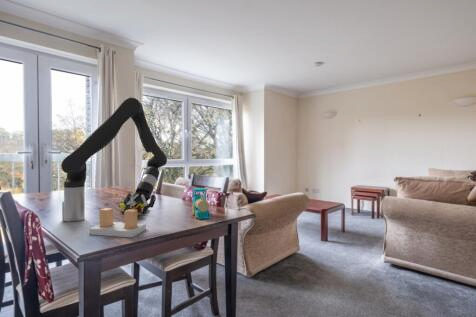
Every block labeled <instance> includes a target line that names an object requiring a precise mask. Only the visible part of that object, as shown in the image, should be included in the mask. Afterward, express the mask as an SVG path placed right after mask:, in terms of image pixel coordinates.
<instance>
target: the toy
mask: <svg viewBox="0 0 476 317" xmlns="http://www.w3.org/2000/svg"><path fill="white" fill-rule="evenodd" d="M118 199H119V200H123V201H124V200H125V198H124V197H123V198H121V197H119V198H118ZM133 202H135V201H134V200H133ZM130 204H131V203H130ZM144 206H145V204H144V203H143V204H137V203H136V204H135V205H132V206H131V207H130V209H133V210H137V216H138V215H139V216H140V215H142V214H141V212H142V210H143V207H144ZM118 207H119V208H121V209H122V210H124V209H125V207H126V206H125V205H124V203H123V202H122V201H121V202H119V203H118Z"/></svg>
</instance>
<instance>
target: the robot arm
mask: <svg viewBox="0 0 476 317" xmlns="http://www.w3.org/2000/svg"><path fill="white" fill-rule="evenodd" d="M130 119H131V120H132V121H133V123H134V125H135V126H136V129H137V133H138V136H139V137H138V138H139V140H140V142H141V144H142V147H143V149H144V151H145V152H146V153H148V154H149V153H151V154H152V155H153V156H151V157H149V159H147V163H146V168H145V172H144V174H143V176H142V177H141V178H140V180H139V182H138V185H137V187H136V190H135V193H133V194H131V193H130V192H129V193H128V194H127V195H126V196H125V198H124V199H125V200H123V202H122V203H124V205H125V206H126V207H125V209H123V212H124V211H126V210H129V209H130V207H131V206H132V205H135V204H136V203H137V204H143V203H144V204H145V206H144V207H143V208H142V209H141V212H140V213H141V214H140V215H142V216H145V215H146V214H147V212H148V211H149V209H150V208H154V206H155V203H156V201H157V200H156V199H157V197H156V195H155V194H153V191H154V190H155V186H156V184H157V181H158V178H159V177H160V170H159V169H160V168H162V167H164V166H165V165H166V164H167V162H168V157H167V156H166V154H165V152H164V151H163V150H162V149H161V148H160V146H159V145H158V143H157V140H156V138H155V136H154V134H153V132H152V130H151V128H150V126H149V124H148V121H147V119H146V116H145V112H144V107H143V104H142V103H141V101H139V99H137V98H135V97H133V96H132V97H131V96H130V97H127V98H125V99H124V100H123V101H122V102H121V103H120V105H119V106H118V107H117V108H116V109H115V111H114V112H113V113H112V114H111V115H110V116H108V118H106V119H105V121H104V122H102V123H101V124H100V125H99V126H98V127H97V128H96V129H95V130H94V131H93V132H92V133H91V134H90V135H89V136H88V137H87V138H86V139H85V140H84V141H83V142H82V144H80V146H79V147H77V148H76V149H75V150H74V151H72V152H70V154H68V155H67V156H66V157H65V158H64V159H63V160H62V162H61V165H60V166H61V170H62V172H64V173H65V174H66V177H65V178H66V179H65V180H64V183H63V201H62V202H61V206H62V207H61V212H62V214H61V218H62V219H61V220H62V221H64V222H69V223H70V222H71V223H72V222H78V221H79V222H80V221H83V220H85V217H86V216H85V212H86V211H85V210H86V209H85V208H86V207H85V206H86V205H85V204H86V203H85V202H86V201H85V200H86V199H85V197H86V196H85V194H86V192H85V189H86V188H85V186H86V184H85V183H86V180H87V162H88V160H89V159H90V158H91V157H93V156H94V155H95V154H97V153H98V152H100V151H101V150H103V149H104V148H106V147H107V146H108V145H109V144H110V143H111V142H112V141H113V140H114V139H115V138H116V136H117V135H118V134H119V132H120V130H121V129H122V127H123V125H124V124H125V123H126V122H127V121H128V120H130ZM133 200H134V201H135V202H133ZM148 201H149V202H148ZM130 203H131V204H130Z"/></svg>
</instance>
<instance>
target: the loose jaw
mask: <svg viewBox="0 0 476 317" xmlns="http://www.w3.org/2000/svg"><path fill="white" fill-rule="evenodd" d="M123 213H124V214H123V215H124V216H123V217H124V222H123V223H124V229H135V228H137V223H138V215H137V210H133V209H129V210H126V211H124V210H123Z"/></svg>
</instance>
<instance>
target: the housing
mask: <svg viewBox="0 0 476 317" xmlns="http://www.w3.org/2000/svg"><path fill="white" fill-rule="evenodd" d="M146 229H147V224H146V223H138V222H137V228H135V229H124V222H120V221H113V226H110V227H100V223H99V224H98V225H95V226H93V227H90V228H89V235H93V236H96V235H97V236H106V237H107V236H110V237H121V238H133V237H135V236H136V235H139V234H140V233H142V232H144V231H145V230H146Z"/></svg>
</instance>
